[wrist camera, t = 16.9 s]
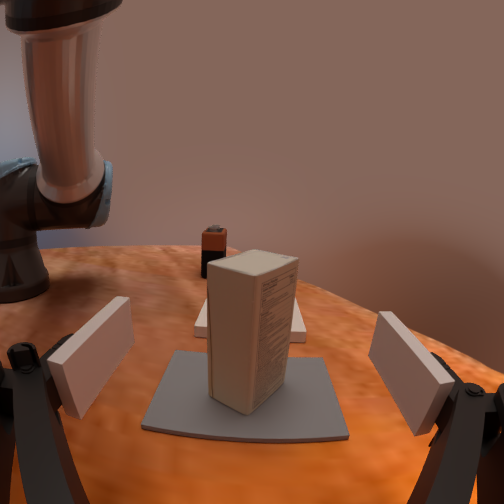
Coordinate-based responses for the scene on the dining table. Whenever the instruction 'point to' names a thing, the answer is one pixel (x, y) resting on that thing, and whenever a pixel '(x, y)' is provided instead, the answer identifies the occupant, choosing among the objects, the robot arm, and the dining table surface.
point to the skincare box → (249, 326)
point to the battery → (212, 246)
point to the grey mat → (257, 422)
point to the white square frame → (296, 330)
